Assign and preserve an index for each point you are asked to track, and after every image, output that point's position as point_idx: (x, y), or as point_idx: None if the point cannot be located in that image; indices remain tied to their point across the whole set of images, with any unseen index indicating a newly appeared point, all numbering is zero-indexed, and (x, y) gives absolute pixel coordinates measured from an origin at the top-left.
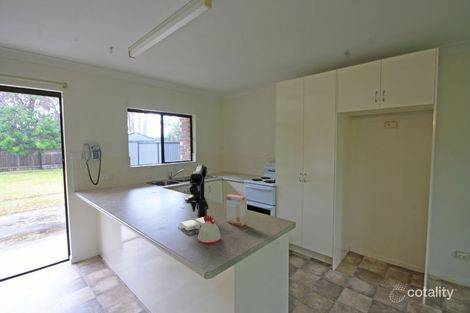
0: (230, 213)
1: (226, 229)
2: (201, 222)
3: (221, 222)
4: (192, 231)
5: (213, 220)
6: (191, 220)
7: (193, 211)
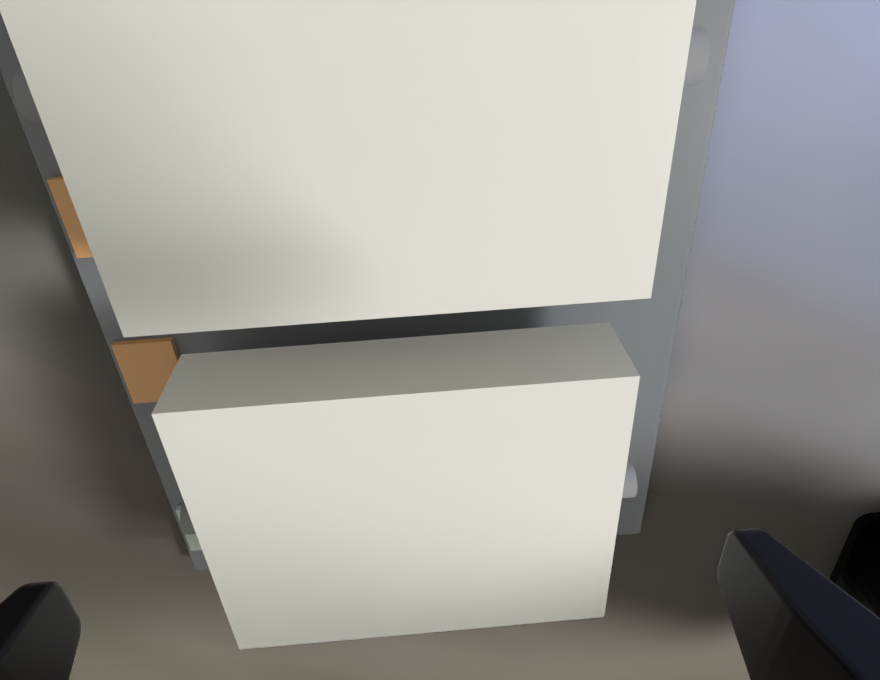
0: None
1: None
2: (236, 412)
3: (391, 664)
4: None
5: (246, 643)
6: (600, 238)
7: (730, 541)
